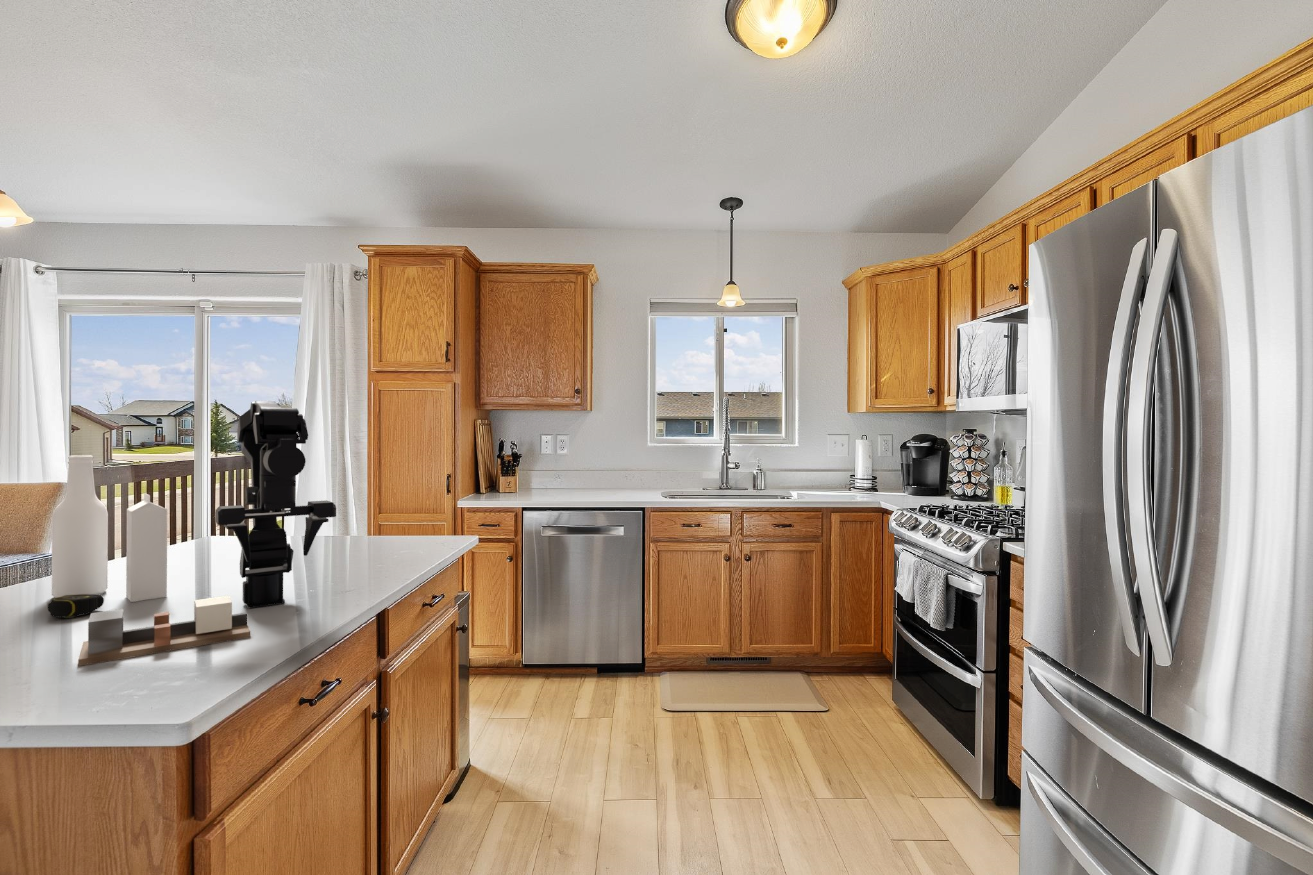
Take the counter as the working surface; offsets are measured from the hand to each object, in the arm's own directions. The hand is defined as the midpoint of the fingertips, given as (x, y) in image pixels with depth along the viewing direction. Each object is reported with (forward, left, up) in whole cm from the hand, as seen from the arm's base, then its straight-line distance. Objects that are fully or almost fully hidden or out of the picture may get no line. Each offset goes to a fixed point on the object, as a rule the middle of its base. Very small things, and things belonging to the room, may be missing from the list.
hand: (277, 558), depth 115 cm
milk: (+19, -37, -13) cm, 44 cm away
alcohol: (+30, -47, -13) cm, 57 cm away
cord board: (+16, +1, -12) cm, 20 cm away
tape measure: (+30, -30, -13) cm, 44 cm away
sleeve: (+10, +1, -11) cm, 15 cm away
